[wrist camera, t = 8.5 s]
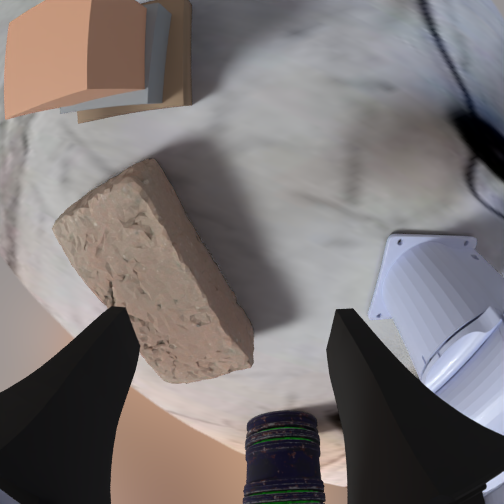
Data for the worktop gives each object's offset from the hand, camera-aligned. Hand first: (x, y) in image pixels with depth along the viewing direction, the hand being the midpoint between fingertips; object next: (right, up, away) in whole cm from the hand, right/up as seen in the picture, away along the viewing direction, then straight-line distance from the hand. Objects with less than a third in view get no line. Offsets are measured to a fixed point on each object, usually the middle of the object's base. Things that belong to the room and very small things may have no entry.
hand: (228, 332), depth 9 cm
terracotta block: (-6, +12, 0) cm, 14 cm away
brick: (-6, +1, +12) cm, 13 cm away
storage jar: (+5, -21, +24) cm, 32 cm away
